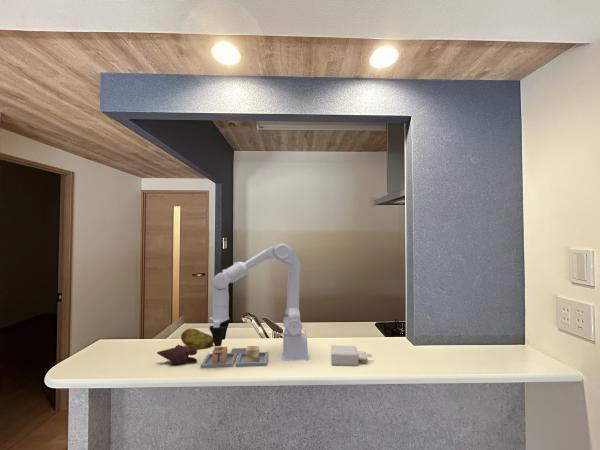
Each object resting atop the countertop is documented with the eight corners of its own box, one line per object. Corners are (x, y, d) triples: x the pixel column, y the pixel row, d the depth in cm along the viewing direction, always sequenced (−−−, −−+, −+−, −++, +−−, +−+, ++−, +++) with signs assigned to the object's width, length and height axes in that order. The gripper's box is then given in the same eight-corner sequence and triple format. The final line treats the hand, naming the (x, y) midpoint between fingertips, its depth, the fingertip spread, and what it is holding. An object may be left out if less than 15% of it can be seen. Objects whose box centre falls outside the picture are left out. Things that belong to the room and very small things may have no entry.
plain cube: (259, 358, 109) (259, 345, 109) (258, 362, 104) (258, 349, 104) (247, 358, 108) (247, 346, 109) (245, 363, 104) (245, 350, 104)
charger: (374, 367, 101) (331, 366, 102) (370, 358, 110) (331, 356, 111) (373, 353, 101) (331, 352, 103) (369, 345, 110) (330, 344, 112)
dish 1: (237, 356, 111) (237, 352, 111) (232, 368, 100) (232, 363, 100) (208, 357, 110) (208, 353, 110) (200, 369, 99) (200, 364, 99)
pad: (249, 349, 119) (249, 347, 119) (247, 355, 112) (247, 353, 112) (232, 349, 119) (232, 348, 119) (229, 356, 112) (229, 354, 112)
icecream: (151, 350, 101) (192, 354, 100) (162, 338, 108) (201, 342, 107) (151, 367, 102) (192, 372, 101) (162, 355, 109) (201, 359, 108)
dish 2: (268, 355, 112) (268, 351, 112) (266, 367, 101) (266, 362, 101) (239, 356, 111) (239, 352, 111) (235, 368, 100) (235, 363, 100)
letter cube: (227, 359, 108) (227, 346, 108) (224, 363, 103) (225, 350, 104) (214, 359, 107) (215, 346, 108) (212, 364, 103) (212, 351, 103)
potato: (207, 352, 116) (207, 332, 117) (177, 351, 118) (178, 331, 119) (215, 345, 125) (215, 326, 125) (187, 344, 126) (188, 325, 127)
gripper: (214, 302, 114) (213, 337, 113) (204, 309, 100) (203, 349, 98) (232, 301, 114) (231, 336, 113) (225, 309, 100) (224, 349, 99)
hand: (220, 342), depth 106 cm, fingers open, 7 cm apart
